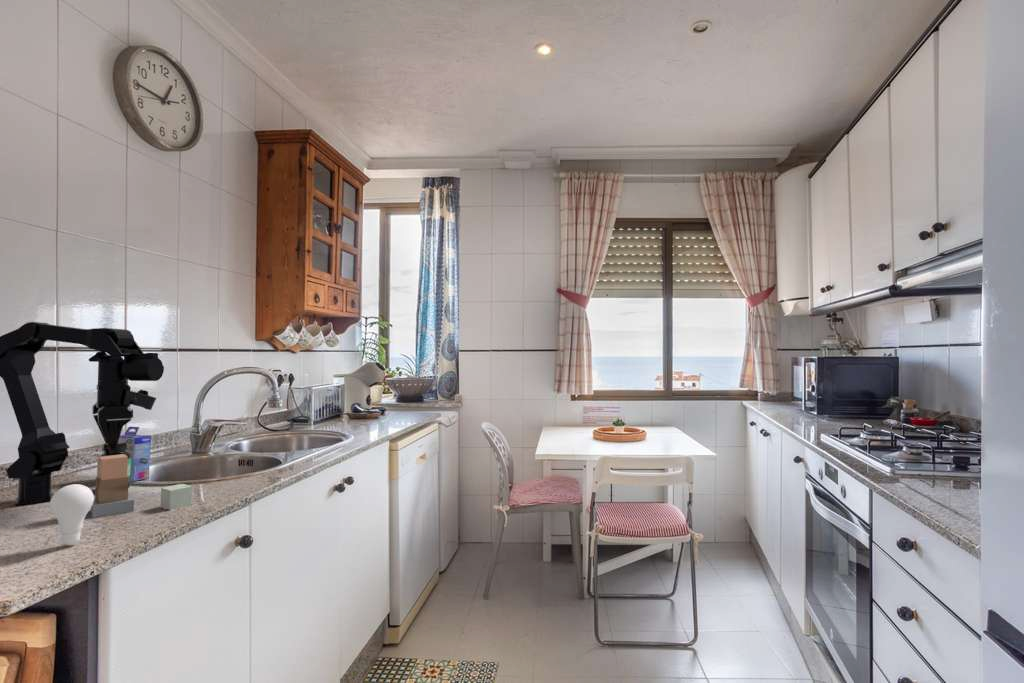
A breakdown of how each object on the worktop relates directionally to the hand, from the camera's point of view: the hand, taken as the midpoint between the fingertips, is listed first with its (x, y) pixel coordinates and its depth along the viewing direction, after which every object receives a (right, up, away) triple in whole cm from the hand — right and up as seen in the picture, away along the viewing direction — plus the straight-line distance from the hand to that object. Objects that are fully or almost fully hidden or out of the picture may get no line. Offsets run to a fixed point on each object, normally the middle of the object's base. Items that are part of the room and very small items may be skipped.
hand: (110, 446), depth 121 cm
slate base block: (+7, -13, -8) cm, 17 cm away
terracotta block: (+7, -5, -8) cm, 12 cm away
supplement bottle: (-8, -14, +10) cm, 19 cm away
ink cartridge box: (-12, -14, +21) cm, 28 cm away
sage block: (+18, -13, -4) cm, 23 cm away
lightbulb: (+15, -12, -29) cm, 35 cm away
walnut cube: (+7, -10, -8) cm, 15 cm away
